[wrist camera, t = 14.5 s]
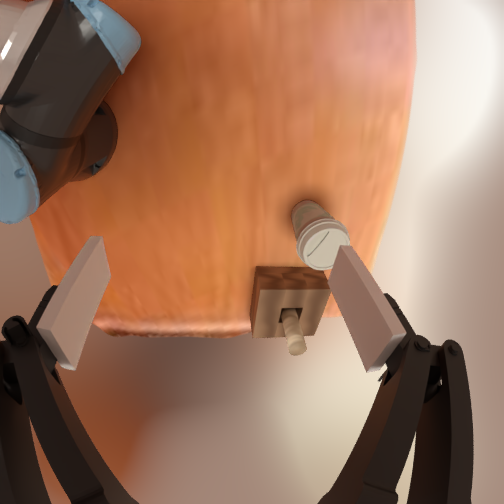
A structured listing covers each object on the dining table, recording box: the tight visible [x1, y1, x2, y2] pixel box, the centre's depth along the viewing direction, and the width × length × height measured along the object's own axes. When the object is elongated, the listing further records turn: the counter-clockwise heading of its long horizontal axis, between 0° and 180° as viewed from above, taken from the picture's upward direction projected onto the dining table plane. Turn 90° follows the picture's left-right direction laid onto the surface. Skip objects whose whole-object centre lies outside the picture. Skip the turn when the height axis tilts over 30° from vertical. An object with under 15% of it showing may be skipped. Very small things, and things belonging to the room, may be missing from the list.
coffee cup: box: [291, 200, 350, 270], centre depth 44 cm, size 8×9×12 cm
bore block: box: [250, 266, 331, 338], centre depth 56 cm, size 14×14×7 cm
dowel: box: [281, 308, 307, 355], centre depth 52 cm, size 3×3×14 cm
